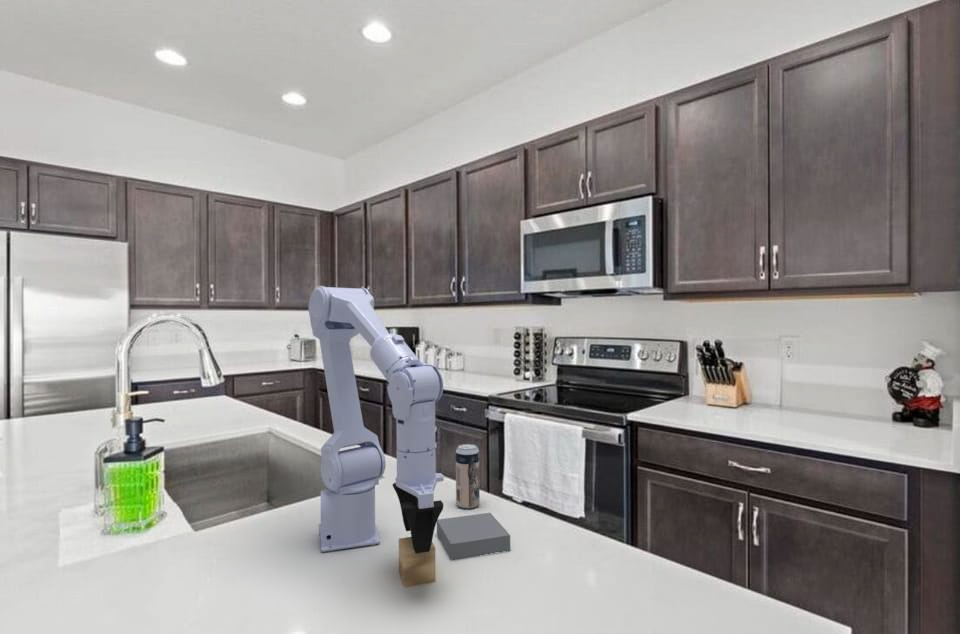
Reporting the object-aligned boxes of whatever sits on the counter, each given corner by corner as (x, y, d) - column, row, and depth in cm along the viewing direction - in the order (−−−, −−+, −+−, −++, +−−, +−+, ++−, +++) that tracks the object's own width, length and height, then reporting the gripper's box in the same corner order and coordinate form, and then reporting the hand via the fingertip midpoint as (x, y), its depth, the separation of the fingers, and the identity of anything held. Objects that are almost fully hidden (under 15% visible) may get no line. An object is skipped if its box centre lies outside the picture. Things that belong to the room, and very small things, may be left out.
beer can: (476, 510, 97) (476, 450, 97) (453, 509, 98) (453, 448, 98) (481, 501, 102) (481, 444, 102) (459, 500, 103) (458, 443, 103)
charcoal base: (451, 563, 77) (451, 544, 77) (436, 536, 86) (436, 519, 86) (510, 553, 80) (510, 535, 80) (490, 528, 90) (490, 512, 90)
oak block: (403, 587, 69) (403, 552, 69) (398, 571, 74) (398, 538, 74) (435, 582, 71) (435, 547, 71) (428, 566, 75) (428, 534, 75)
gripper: (455, 457, 67) (456, 558, 67) (432, 434, 81) (432, 517, 80) (403, 463, 65) (404, 566, 64) (388, 438, 78) (389, 523, 78)
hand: (417, 540), depth 72 cm, fingers open, 7 cm apart
